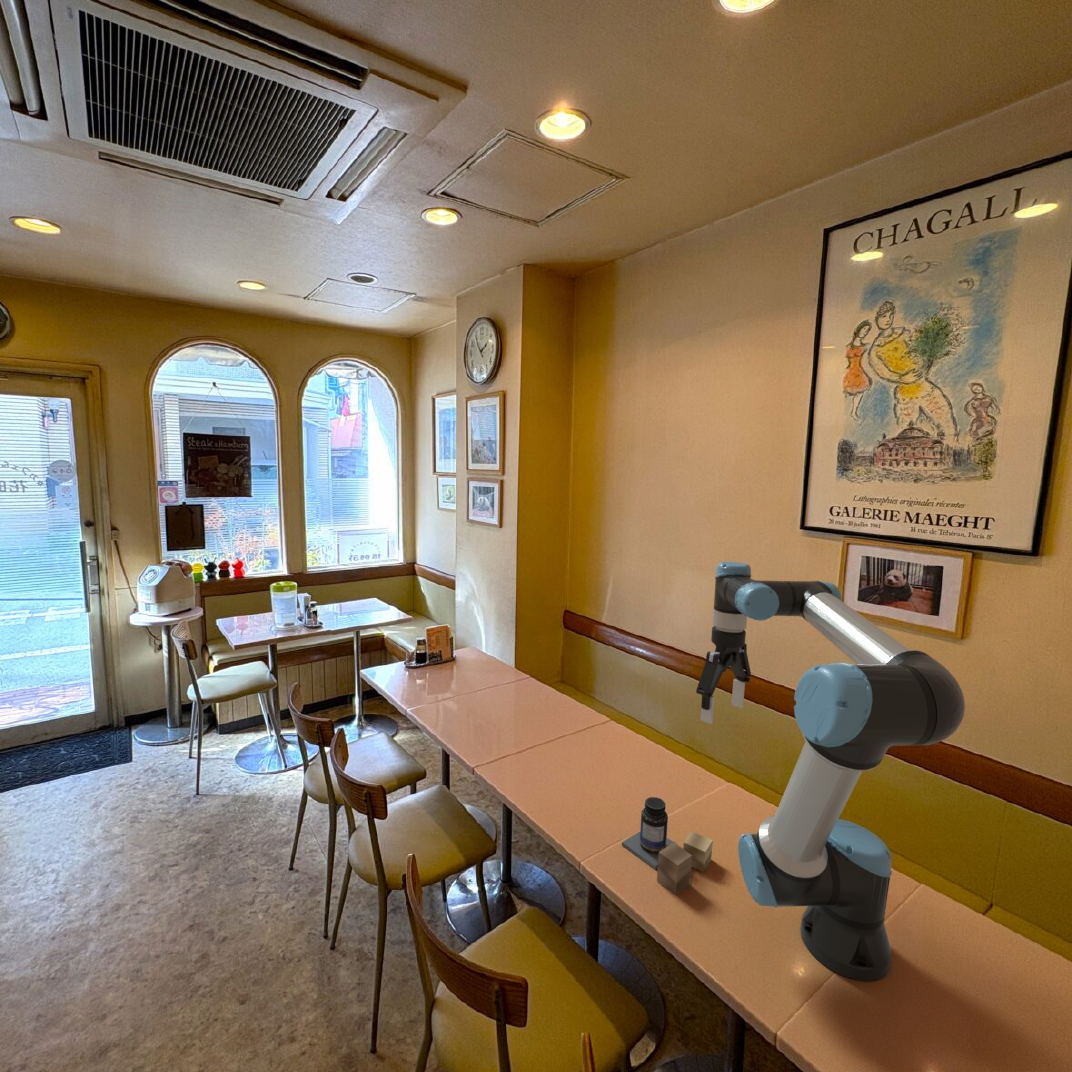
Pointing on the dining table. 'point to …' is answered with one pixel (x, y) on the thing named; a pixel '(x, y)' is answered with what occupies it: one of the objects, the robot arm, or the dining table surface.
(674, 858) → the walnut block
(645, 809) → the pill bottle
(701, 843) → the oak block
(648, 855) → the slate coaster
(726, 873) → the dining table surface
